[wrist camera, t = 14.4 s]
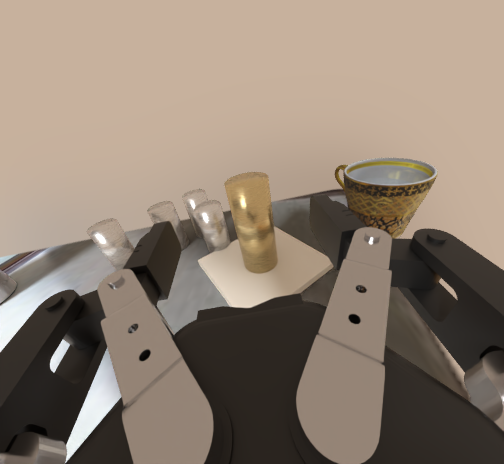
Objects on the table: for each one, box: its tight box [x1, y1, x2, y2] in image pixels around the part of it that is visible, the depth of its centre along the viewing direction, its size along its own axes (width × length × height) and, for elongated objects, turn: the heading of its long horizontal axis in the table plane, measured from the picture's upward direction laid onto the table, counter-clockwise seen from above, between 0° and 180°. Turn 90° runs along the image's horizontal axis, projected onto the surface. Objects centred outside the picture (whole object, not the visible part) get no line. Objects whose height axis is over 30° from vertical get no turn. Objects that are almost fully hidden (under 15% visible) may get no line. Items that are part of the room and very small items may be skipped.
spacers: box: [87, 189, 231, 271], centre depth 32 cm, size 18×12×8 cm, turn 125°
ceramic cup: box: [335, 158, 438, 239], centre depth 29 cm, size 13×10×10 cm
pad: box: [198, 226, 334, 308], centre depth 29 cm, size 14×14×1 cm
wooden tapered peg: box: [225, 172, 278, 274], centre depth 25 cm, size 5×5×12 cm
